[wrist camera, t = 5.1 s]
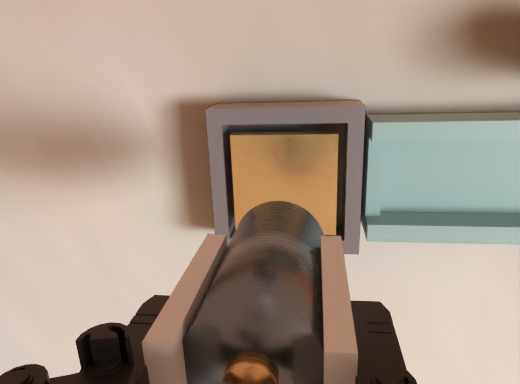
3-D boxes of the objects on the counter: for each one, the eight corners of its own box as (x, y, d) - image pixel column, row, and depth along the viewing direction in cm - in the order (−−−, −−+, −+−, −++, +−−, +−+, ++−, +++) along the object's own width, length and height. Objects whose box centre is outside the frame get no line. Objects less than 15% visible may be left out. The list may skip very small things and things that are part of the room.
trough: (366, 114, 28) (373, 122, 25) (622, 110, 26) (665, 118, 23) (361, 221, 31) (366, 241, 28) (594, 224, 29) (630, 247, 26)
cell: (232, 200, 18) (161, 317, 10) (325, 200, 17) (332, 325, 9) (237, 281, 19) (178, 446, 11) (324, 284, 19) (330, 459, 10)
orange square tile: (232, 132, 27) (230, 135, 26) (337, 131, 26) (338, 133, 25) (238, 227, 29) (235, 233, 28) (335, 229, 28) (335, 235, 27)
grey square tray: (217, 103, 30) (205, 109, 26) (359, 100, 28) (365, 106, 25) (226, 230, 33) (216, 250, 29) (354, 233, 31) (358, 254, 28)
